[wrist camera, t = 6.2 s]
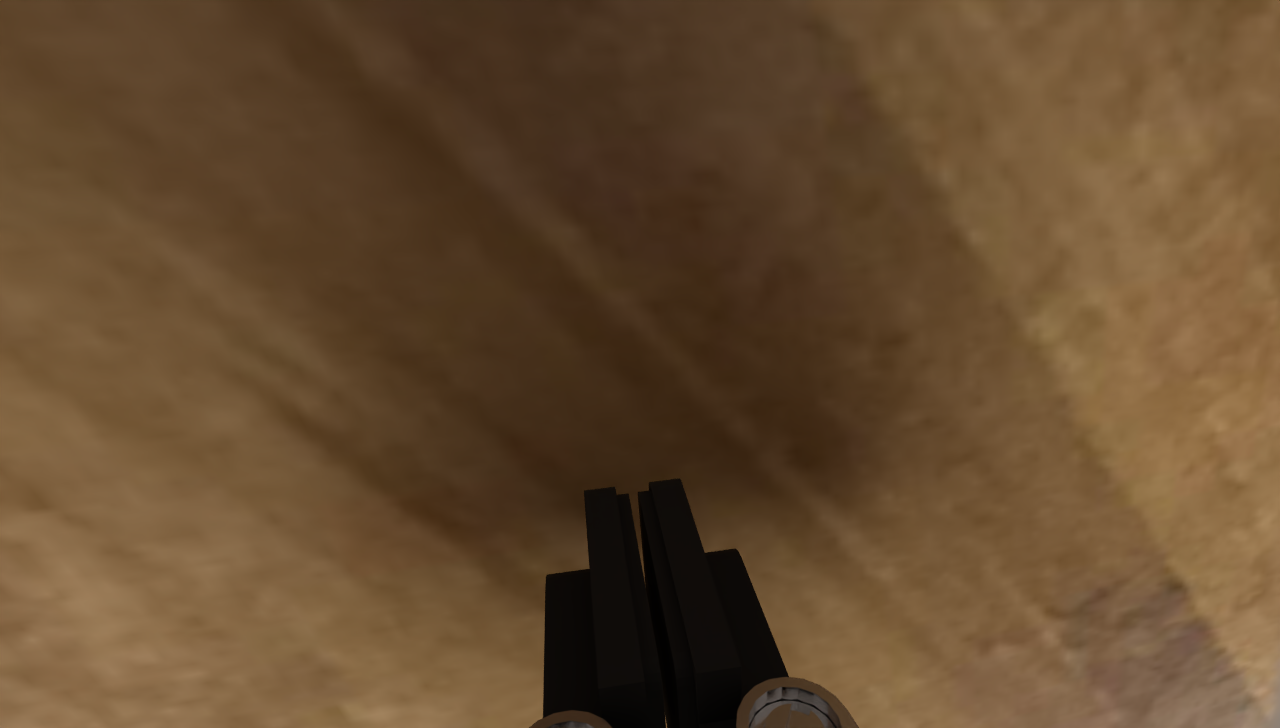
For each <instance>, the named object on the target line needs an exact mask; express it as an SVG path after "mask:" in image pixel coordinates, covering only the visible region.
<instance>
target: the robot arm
mask: <svg viewBox="0 0 1280 728" xmlns="http://www.w3.org/2000/svg"><path fill="white" fill-rule="evenodd" d="M584 497H585V511H586V525H587V538H588V552H589V566H590V569H585V570H578V571H570V572H563V573H556V574H549V575H547V576H546V590H545V644H544V698H543V718H542V719H540V720H538V721H537V722H535V723H534V724H533V725H532V726H530V727H529V728H666V723H667V728H859V727H858V725H857V724H856V722H855V721H854V719H853V718H852V716H851V715H850V713H849V712H848V710H847V709H846V708H845V706H844V705H843V704H842V703H841V702H840V701H839V700H838V698H837V697H836V696H835V695H833V694H832V693H831V692H829V691H828V690H826V689H825V688H823V687H822V686H820V685H818V684H815V683H813V682H810V681H807V680H805V679H800V678H792V677H789V676H788V673H787V671H786V668H785V666H784V663H783V661H782V658H781V656H780V653H779V651H778V648H777V646H776V643H775V641H774V638H773V636H772V633H771V631H770V628H769V626H768V623H767V621H766V618H765V616H764V613H763V611H762V608H761V606H760V603H759V601H758V598H757V596H756V593H755V591H754V588H753V586H752V583H751V581H750V578H749V576H748V573H747V571H746V568H745V566H744V563H743V560H742V558H741V556H740V554H739V552H738V551H737V550H736V549H729V550H722V551H715V552H708V553H704V550H703V547H702V543H701V540H700V537H699V534H698V531H697V528H696V525H695V522H694V519H693V516H692V513H691V509H690V506H689V503H688V500H687V497H686V494H685V491H684V488H683V485H682V482H681V479H671V480H663V481H656V482H649V491H644V492H638V502H639V514H640V526H641V538H642V550H643V561H644V573H645V582H644V576H643V571H642V565H641V560H640V554H639V549H638V543H637V538H636V532H635V527H634V521H633V516H632V510H631V505H630V499H629V494H621V495H616V489H615V487H609V488H601V489H593V490H585V491H584ZM645 585H646V587H645ZM665 717H666V723H665Z"/></svg>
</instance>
